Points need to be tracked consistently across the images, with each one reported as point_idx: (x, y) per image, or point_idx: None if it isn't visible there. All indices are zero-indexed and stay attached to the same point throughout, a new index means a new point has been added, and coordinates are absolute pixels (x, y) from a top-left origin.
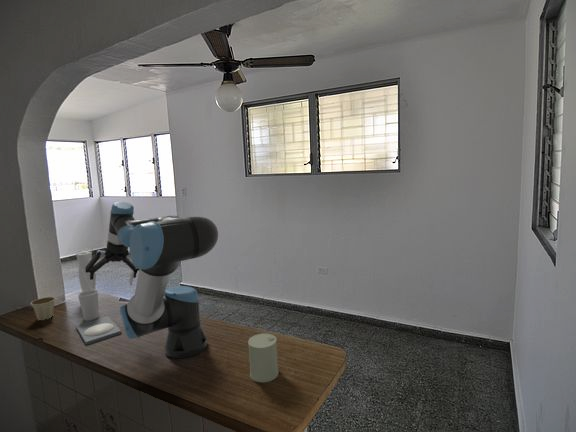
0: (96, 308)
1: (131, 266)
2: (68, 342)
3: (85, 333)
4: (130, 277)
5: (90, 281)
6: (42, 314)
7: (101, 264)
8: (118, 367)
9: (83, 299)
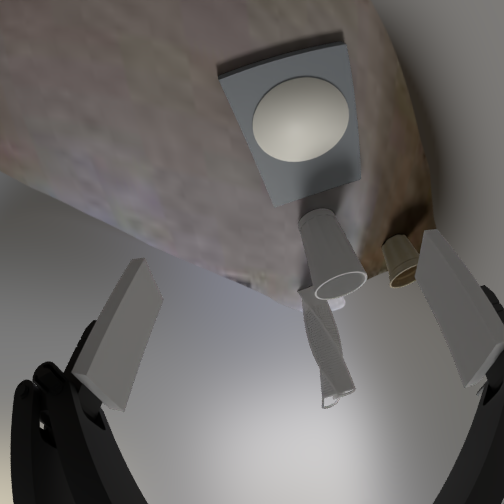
0: (310, 239)
1: (73, 460)
2: (385, 93)
3: (345, 110)
4: (135, 328)
5: (317, 330)
6: (406, 244)
7: (496, 490)
8: None
9: (354, 261)
